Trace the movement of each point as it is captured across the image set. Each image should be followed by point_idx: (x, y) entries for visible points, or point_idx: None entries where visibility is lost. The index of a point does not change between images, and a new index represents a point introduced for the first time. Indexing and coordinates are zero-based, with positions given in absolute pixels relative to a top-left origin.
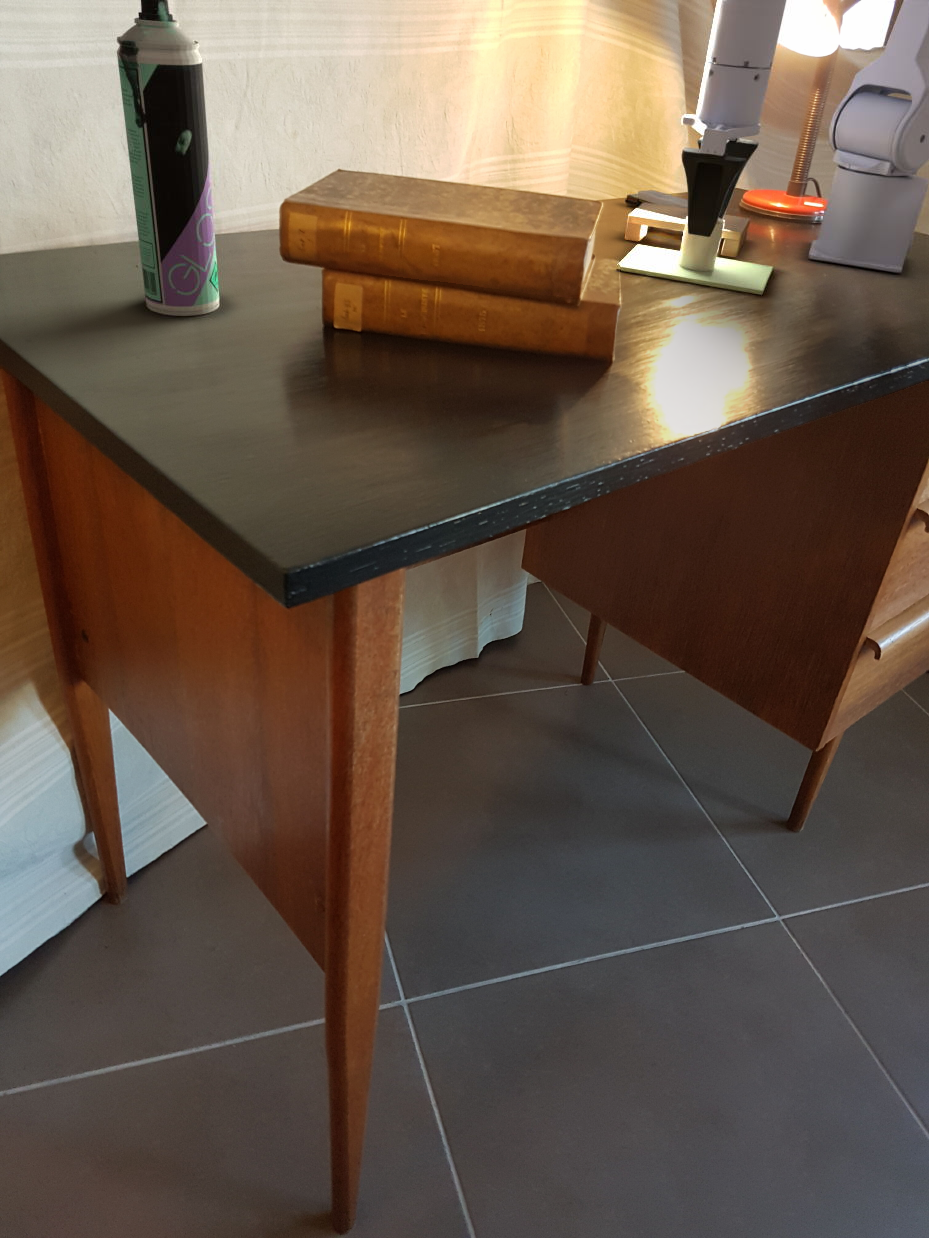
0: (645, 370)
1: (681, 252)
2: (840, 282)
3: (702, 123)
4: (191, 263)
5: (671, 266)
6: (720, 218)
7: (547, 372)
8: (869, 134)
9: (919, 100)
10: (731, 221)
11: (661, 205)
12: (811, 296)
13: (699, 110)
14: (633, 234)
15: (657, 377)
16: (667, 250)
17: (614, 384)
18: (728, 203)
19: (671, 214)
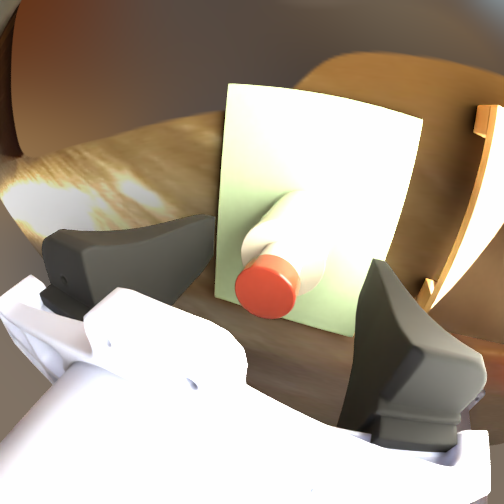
0: (24, 177)
1: (284, 198)
2: (325, 386)
3: (25, 330)
4: None
5: (275, 178)
6: (359, 298)
7: (7, 128)
8: None
9: None
10: (496, 318)
11: None
12: (247, 344)
13: (63, 393)
14: (479, 120)
15: (22, 185)
16: (400, 178)
17: (11, 165)
18: (355, 327)
19: None
